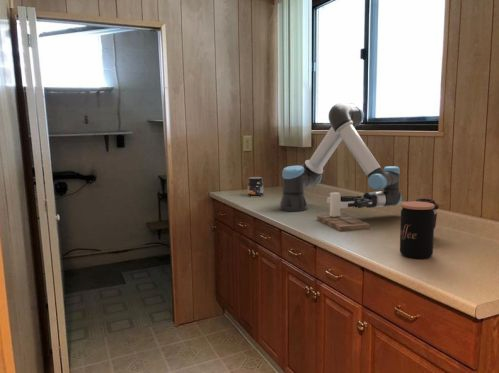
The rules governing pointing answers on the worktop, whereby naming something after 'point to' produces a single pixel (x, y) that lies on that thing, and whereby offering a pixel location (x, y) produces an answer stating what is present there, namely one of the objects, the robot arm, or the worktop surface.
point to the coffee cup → (433, 209)
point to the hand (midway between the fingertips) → (333, 202)
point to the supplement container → (255, 186)
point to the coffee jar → (417, 229)
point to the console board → (343, 222)
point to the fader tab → (335, 204)
